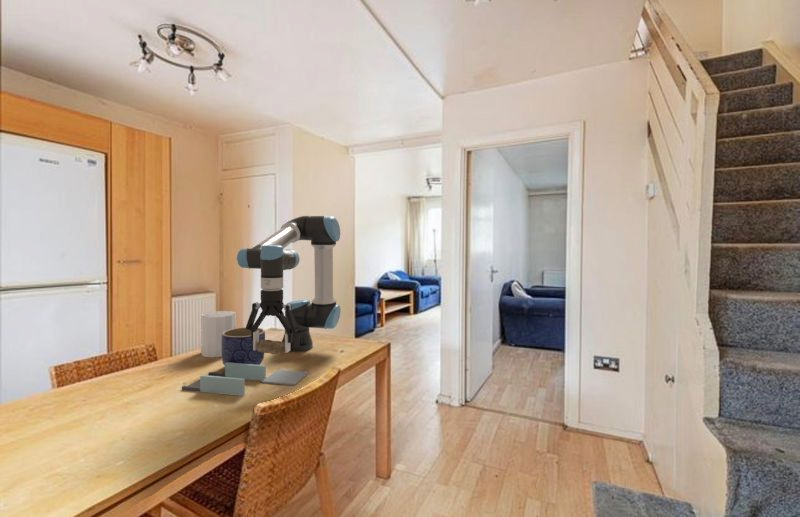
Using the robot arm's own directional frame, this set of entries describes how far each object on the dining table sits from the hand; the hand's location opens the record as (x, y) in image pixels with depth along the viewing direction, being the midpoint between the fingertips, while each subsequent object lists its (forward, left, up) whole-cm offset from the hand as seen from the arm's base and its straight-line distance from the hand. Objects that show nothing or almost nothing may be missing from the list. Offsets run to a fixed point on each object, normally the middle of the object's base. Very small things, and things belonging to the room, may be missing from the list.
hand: (271, 350), depth 132 cm
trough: (0, -17, -14) cm, 22 cm away
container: (-34, -44, -14) cm, 57 cm away
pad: (-11, 0, -14) cm, 17 cm away
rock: (0, 0, -1) cm, 1 cm away
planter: (-18, -22, -14) cm, 31 cm away
